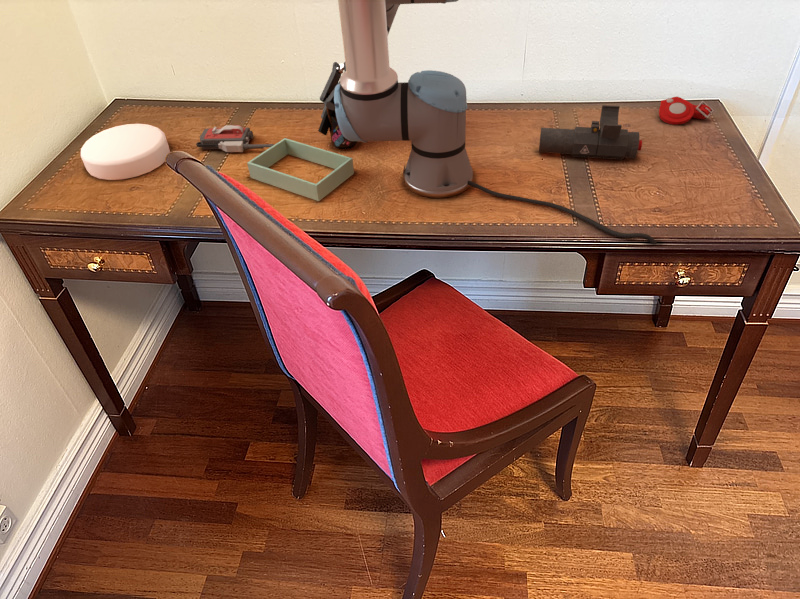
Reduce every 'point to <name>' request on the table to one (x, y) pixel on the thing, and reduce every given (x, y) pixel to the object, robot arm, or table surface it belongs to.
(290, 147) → the rectangular frame
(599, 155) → the laser sight
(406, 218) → the table surface
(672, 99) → the tracker holder
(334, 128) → the supplement container
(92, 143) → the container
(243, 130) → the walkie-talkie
